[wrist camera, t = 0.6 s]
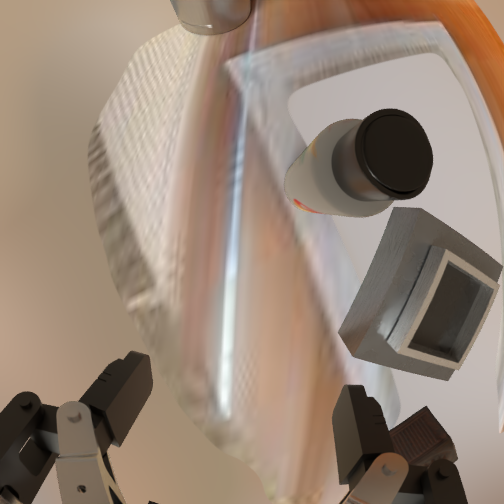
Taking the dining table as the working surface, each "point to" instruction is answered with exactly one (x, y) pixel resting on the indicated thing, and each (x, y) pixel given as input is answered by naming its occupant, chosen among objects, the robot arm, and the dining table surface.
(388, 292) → the gray square holder
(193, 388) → the dining table surface
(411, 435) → the bronze sculpture
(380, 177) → the lotion bottle
